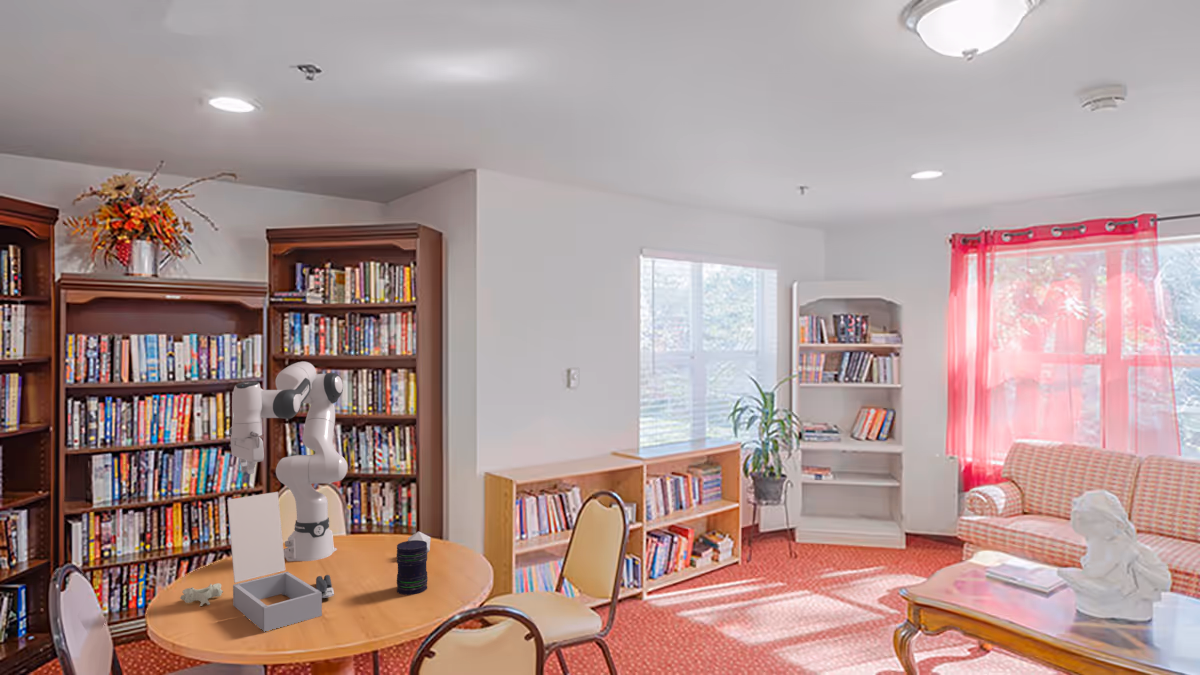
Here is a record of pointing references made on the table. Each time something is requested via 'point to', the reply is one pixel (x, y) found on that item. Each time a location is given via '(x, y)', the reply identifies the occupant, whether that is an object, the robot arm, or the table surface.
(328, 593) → the can opener
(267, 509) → the lid
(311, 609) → the duct
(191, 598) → the spine bone
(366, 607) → the table surface
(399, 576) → the dark blue barrel
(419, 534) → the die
